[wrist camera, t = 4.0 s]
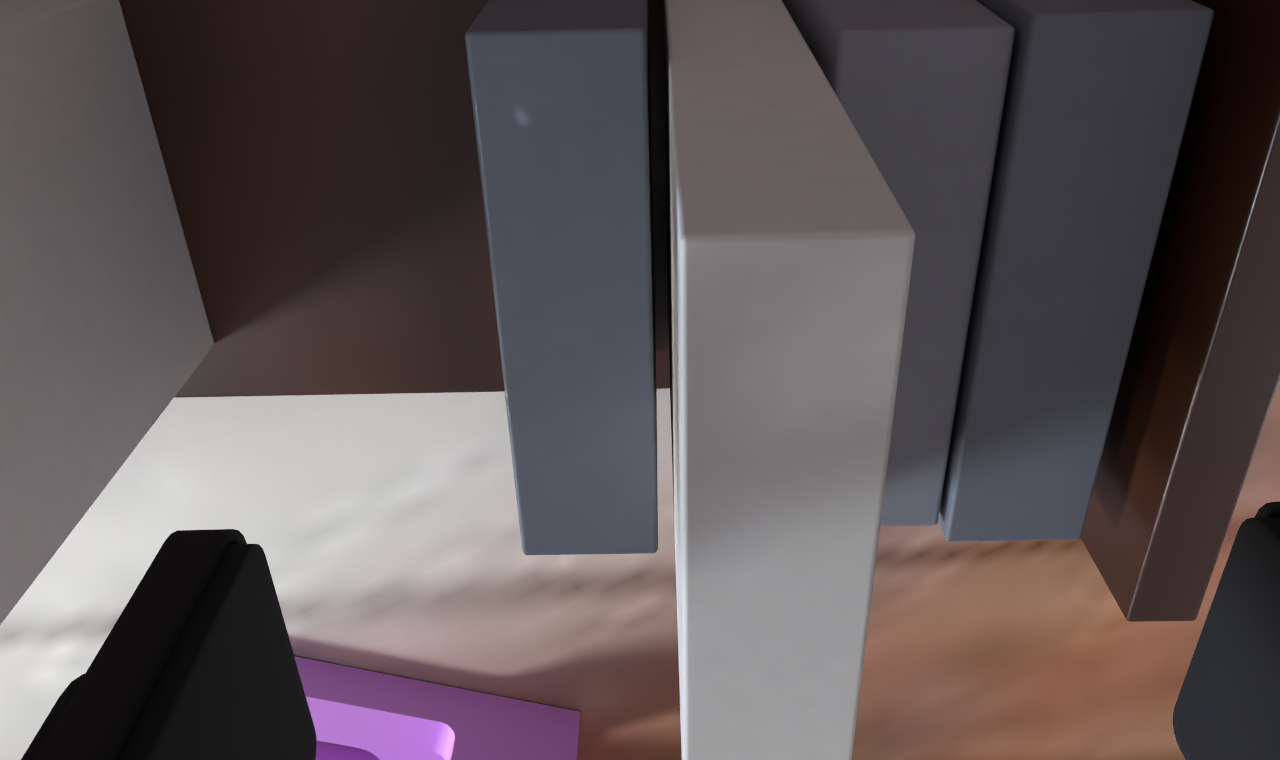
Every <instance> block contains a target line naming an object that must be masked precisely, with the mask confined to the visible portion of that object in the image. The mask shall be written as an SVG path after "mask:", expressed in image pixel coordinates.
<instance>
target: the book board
mask: <svg viewBox="0 0 1280 760" xmlns="http://www.w3.org/2000/svg"><path fill="white" fill-rule="evenodd" d="M488 1H489V0H119V2H120V6H121V9H122V13H123V17H124V20H125V24H126V27H127V31H128V35H129V38H130V42H131V45H132V49H133V53H134V56H135V60H136V63H137V67H138V71H139V74H140V78H141V81H142V85H143V89H144V92H145V96H146V99H147V103H148V107H149V110H150V114H151V117H152V121H153V125H154V128H155V132H156V135H157V139H158V143H159V146H160V150H161V153H162V157H163V161H164V164H165V168H166V171H167V175H168V179H169V182H170V186H171V189H172V193H173V197H174V200H175V204H176V207H177V211H178V215H179V218H180V222H181V225H182V229H183V233H184V236H185V240H186V243H187V247H188V251H189V254H190V258H191V261H192V265H193V269H194V272H195V276H196V279H197V283H198V286H199V290H200V294H201V297H202V301H203V304H204V308H205V312H206V315H207V319H208V322H209V326H210V330H211V333H212V337H213V340H214V345H213V346H212V348H211V349H210V350H209V352H208V353H207V354H206V356H205V357H204V358H203V360H202V361H201V362H200V364H199V365H198V366H197V367H196V369H195V370H194V371H193V373H192V374H191V375H190V377H189V378H188V379H187V381H186V382H185V383H184V385H183V386H182V387H181V388H180V390H179V391H178V392H177V394H176V395H175V396H174V397H223V396H278V395H333V394H387V393H442V392H497V391H505V389H504V380H503V371H502V362H501V354H500V345H499V336H498V327H497V318H496V309H495V300H494V291H493V282H492V274H491V265H490V256H489V247H488V238H487V229H486V220H485V211H484V202H483V193H482V185H481V176H480V167H479V158H478V149H477V140H476V131H475V122H474V113H473V105H472V96H471V87H470V78H469V69H468V60H467V51H466V42H465V35H466V32H467V31H468V29H469V28H470V26H471V25H472V24H473V22H474V21H475V19H476V18H477V16H478V15H479V14H480V12H481V11H482V9H483V8H484V7H485V5H486V4H487V2H488ZM1191 1H1194V2H1196V3H1198V4H1201V5H1203V6H1205V7H1208V8H1210V9H1212V10H1213V11H1214V16H1213V20H1212V24H1211V28H1210V32H1209V35H1208V39H1207V43H1206V47H1205V51H1204V55H1203V59H1202V63H1201V67H1200V71H1199V75H1198V79H1197V83H1196V87H1195V91H1194V95H1193V98H1192V102H1191V106H1190V110H1189V114H1188V118H1187V122H1186V126H1185V130H1184V134H1183V138H1182V142H1181V146H1180V150H1179V154H1178V158H1177V162H1176V165H1175V169H1174V173H1173V177H1172V181H1171V185H1170V189H1169V193H1168V197H1167V201H1166V205H1165V209H1164V213H1163V217H1162V221H1161V225H1160V229H1159V232H1158V236H1157V240H1156V244H1155V248H1154V252H1153V256H1152V260H1151V264H1150V268H1149V272H1148V276H1147V280H1146V284H1145V288H1144V292H1143V296H1142V299H1141V303H1140V307H1139V311H1138V315H1137V319H1136V323H1135V327H1134V331H1133V335H1132V339H1131V343H1130V347H1129V351H1128V355H1127V359H1126V363H1125V366H1124V370H1123V374H1122V378H1121V382H1120V386H1119V390H1118V394H1117V398H1116V402H1115V406H1114V410H1113V414H1112V418H1111V422H1110V426H1109V430H1108V433H1107V437H1106V441H1105V445H1104V449H1103V453H1102V457H1101V461H1100V465H1099V469H1098V473H1097V477H1096V481H1095V485H1094V489H1093V493H1092V496H1091V500H1090V504H1089V508H1088V512H1087V516H1086V520H1085V524H1084V528H1083V532H1082V536H1081V539H1082V541H1083V543H1084V545H1085V547H1086V548H1087V550H1088V552H1089V554H1090V555H1091V557H1092V559H1093V561H1094V563H1095V564H1096V566H1097V568H1098V570H1099V571H1100V573H1101V575H1102V577H1103V579H1104V580H1105V582H1106V584H1107V586H1108V588H1109V589H1110V591H1111V593H1112V595H1113V596H1114V598H1115V600H1116V602H1117V604H1118V605H1119V607H1120V609H1121V611H1122V612H1123V614H1124V616H1125V618H1126V620H1128V621H1193V620H1195V619H1196V617H1197V615H1198V612H1199V609H1200V606H1201V603H1202V600H1203V597H1204V594H1205V591H1206V589H1207V586H1208V583H1209V580H1210V577H1211V574H1212V571H1213V568H1214V566H1215V563H1216V560H1217V557H1218V554H1219V551H1220V548H1221V545H1222V543H1223V540H1224V537H1225V534H1226V531H1227V528H1228V525H1229V522H1230V520H1231V517H1232V514H1233V511H1234V508H1235V505H1236V502H1237V499H1238V497H1239V494H1240V491H1241V488H1242V485H1243V482H1244V479H1245V476H1246V473H1247V471H1248V468H1249V465H1250V462H1251V459H1252V456H1253V453H1254V450H1255V448H1256V445H1257V442H1258V439H1259V436H1260V433H1261V430H1262V427H1263V425H1264V422H1265V419H1266V416H1267V413H1268V410H1269V407H1270V404H1271V402H1272V399H1273V396H1274V393H1275V390H1276V387H1277V384H1278V381H1279V379H1280V0H1191ZM648 3H649V49H650V96H651V142H652V188H653V234H654V281H655V327H656V389H661V388H670V367H669V335H668V265H667V195H666V125H665V54H664V0H648Z"/></svg>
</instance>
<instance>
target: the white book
mask: <svg viewBox="0 0 1280 760" xmlns="http://www.w3.org/2000/svg"><path fill="white" fill-rule="evenodd" d="M664 54H665V125H666V195H667V265H668V335H669V367H670V398H671V430H672V462H673V494H674V526H675V557H676V589H677V621H678V653H679V685H680V716H681V748H682V760H852V753H853V745H854V737H855V729H856V720H857V712H858V704H859V696H860V687H861V679H862V671H863V663H864V654H865V646H866V638H867V630H868V621H869V613H870V605H871V597H872V588H873V580H874V572H875V564H876V556H877V547H878V539H879V531H880V523H881V514H882V506H883V498H884V490H885V481H886V473H887V465H888V457H889V448H890V440H891V432H892V424H893V415H894V407H895V399H896V391H897V383H898V374H899V366H900V358H901V350H902V341H903V333H904V325H905V317H906V308H907V300H908V292H909V284H910V275H911V267H912V259H913V251H914V242H915V233H914V230H913V229H912V227H911V225H910V223H909V222H908V220H907V218H906V216H905V215H904V213H903V211H902V209H901V208H900V206H899V204H898V202H897V201H896V199H895V197H894V195H893V194H892V192H891V190H890V188H889V187H888V185H887V183H886V181H885V180H884V178H883V176H882V174H881V173H880V171H879V169H878V167H877V166H876V164H875V162H874V160H873V159H872V157H871V155H870V154H869V152H868V150H867V148H866V147H865V145H864V143H863V141H862V140H861V138H860V136H859V134H858V133H857V131H856V129H855V127H854V126H853V124H852V122H851V120H850V119H849V117H848V115H847V113H846V112H845V110H844V108H843V106H842V105H841V103H840V101H839V99H838V98H837V96H836V94H835V92H834V91H833V89H832V87H831V85H830V84H829V82H828V80H827V78H826V77H825V75H824V73H823V71H822V70H821V68H820V66H819V64H818V63H817V61H816V59H815V57H814V56H813V54H812V52H811V51H810V49H809V47H808V45H807V44H806V42H805V40H804V38H803V37H802V35H801V33H800V31H799V30H798V28H797V26H796V24H795V23H794V21H793V19H792V17H791V16H790V14H789V12H788V10H787V9H786V7H785V5H784V3H783V2H782V0H664Z"/></svg>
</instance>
